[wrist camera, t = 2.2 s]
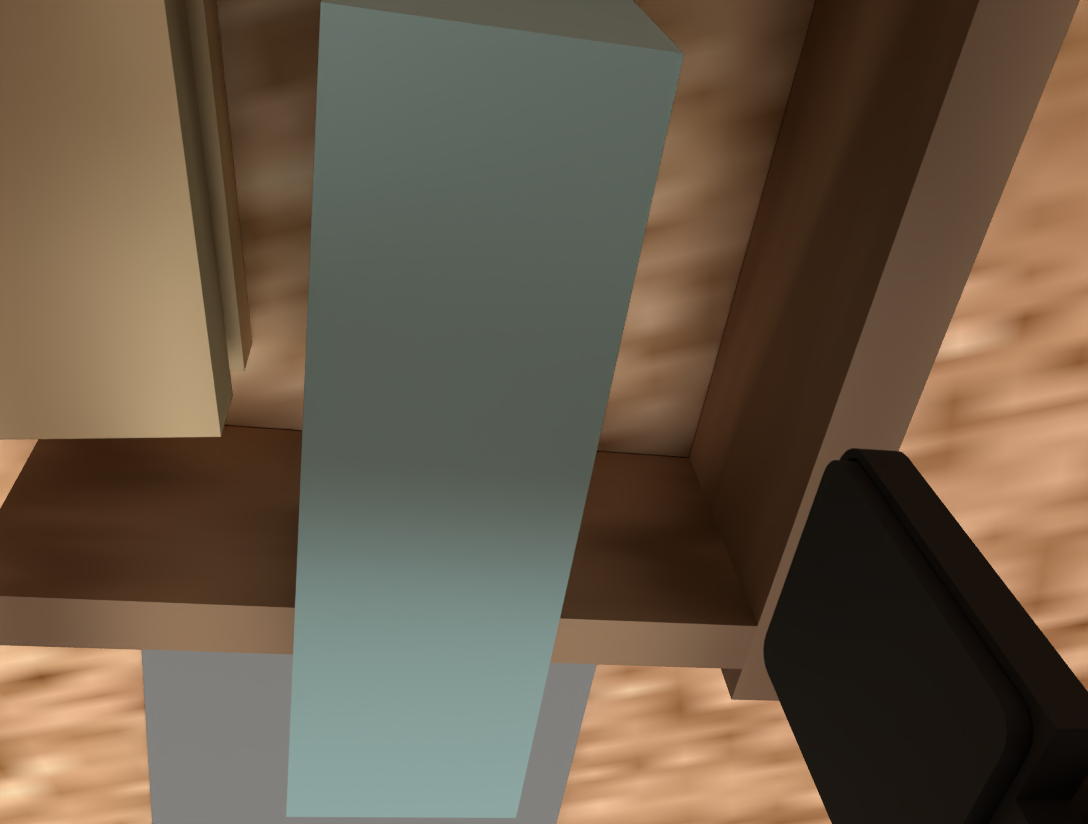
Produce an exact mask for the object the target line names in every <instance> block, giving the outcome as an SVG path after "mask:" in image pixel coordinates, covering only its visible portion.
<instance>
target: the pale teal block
mask: <svg viewBox="0 0 1088 824" xmlns="http://www.w3.org/2000/svg"><path fill="white" fill-rule="evenodd" d="M683 57H684V53H683V52H682V51H681V50H680V49H679V48H678V47H677V46H676V45H675V44H674V43H673V41H672V40H671V39H670V38H669V37H668V36H667V35H666V34H665V33H664V32H663V31H662V30H661V29H660V28H659V27H658V26H657V25H656V24H655V23H654V22H653V21H652V20H651V19H650V18H649V16H648V15H647V14H646V13H645V12H644V11H643V10H642V9H641V8H640V7H639V6H638V5H637V4H636V3H635V2H634V1H633V0H321V7H320V31H319V54H318V78H317V102H316V125H315V149H314V172H313V196H312V220H311V243H310V267H309V290H308V314H307V338H306V361H305V385H304V408H303V432H302V456H301V479H300V503H299V526H298V550H297V574H296V597H295V621H294V644H293V668H292V692H291V715H290V739H289V762H288V786H287V810H286V817H419V818H516V815H517V811H518V806H519V802H520V797H521V793H522V788H523V784H524V779H525V774H526V770H527V765H528V761H529V756H530V752H531V747H532V743H533V738H534V734H535V729H536V725H537V720H538V715H539V711H540V706H541V702H542V697H543V693H544V688H545V684H546V679H547V675H548V670H549V665H550V661H551V656H552V652H553V647H554V643H555V638H556V634H557V629H558V625H559V620H560V616H561V611H562V606H563V602H564V597H565V593H566V588H567V584H568V579H569V575H570V570H571V566H572V561H573V556H574V552H575V547H576V543H577V538H578V534H579V529H580V525H581V520H582V516H583V511H584V507H585V502H586V497H587V493H588V488H589V484H590V479H591V475H592V470H593V466H594V461H595V457H596V452H597V448H598V443H599V438H600V434H601V429H602V425H603V420H604V416H605V411H606V407H607V402H608V398H609V393H610V388H611V384H612V379H613V375H614V370H615V366H616V361H617V357H618V352H619V348H620V343H621V339H622V334H623V329H624V325H625V320H626V316H627V311H628V307H629V302H630V298H631V293H632V289H633V284H634V279H635V275H636V270H637V266H638V261H639V257H640V252H641V248H642V243H643V239H644V234H645V230H646V225H647V220H648V216H649V211H650V207H651V202H652V198H653V193H654V189H655V184H656V180H657V175H658V170H659V166H660V161H661V157H662V152H663V148H664V143H665V139H666V134H667V130H668V125H669V121H670V116H671V111H672V107H673V102H674V98H675V93H676V89H677V84H678V80H679V75H680V71H681V66H682V61H683Z"/></svg>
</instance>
